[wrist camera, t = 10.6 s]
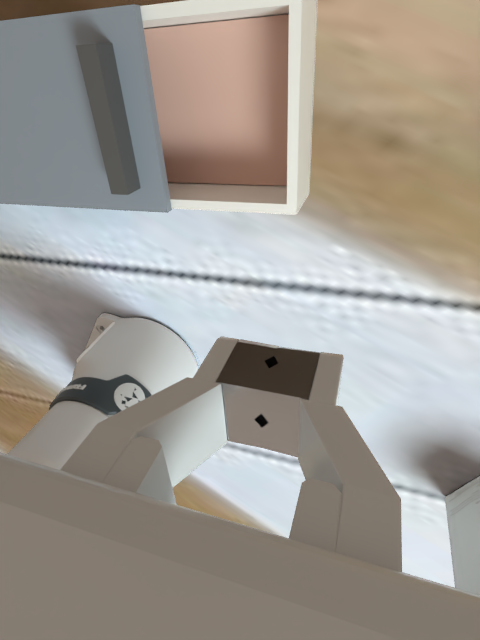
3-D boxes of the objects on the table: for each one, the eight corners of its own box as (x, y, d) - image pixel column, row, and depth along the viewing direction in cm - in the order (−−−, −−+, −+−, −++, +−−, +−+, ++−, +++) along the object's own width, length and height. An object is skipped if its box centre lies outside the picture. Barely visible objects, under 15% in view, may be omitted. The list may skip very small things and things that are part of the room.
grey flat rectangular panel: (139, 5, 26) (116, 1, 24) (171, 209, 34) (156, 220, 32) (-71, 31, 32) (-106, 29, 30) (-3, 200, 40) (-26, 209, 38)
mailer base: (317, -3, 28) (302, -14, 23) (309, 193, 36) (296, 214, 31) (87, 23, 34) (37, 18, 29) (123, 186, 41) (88, 204, 37)
